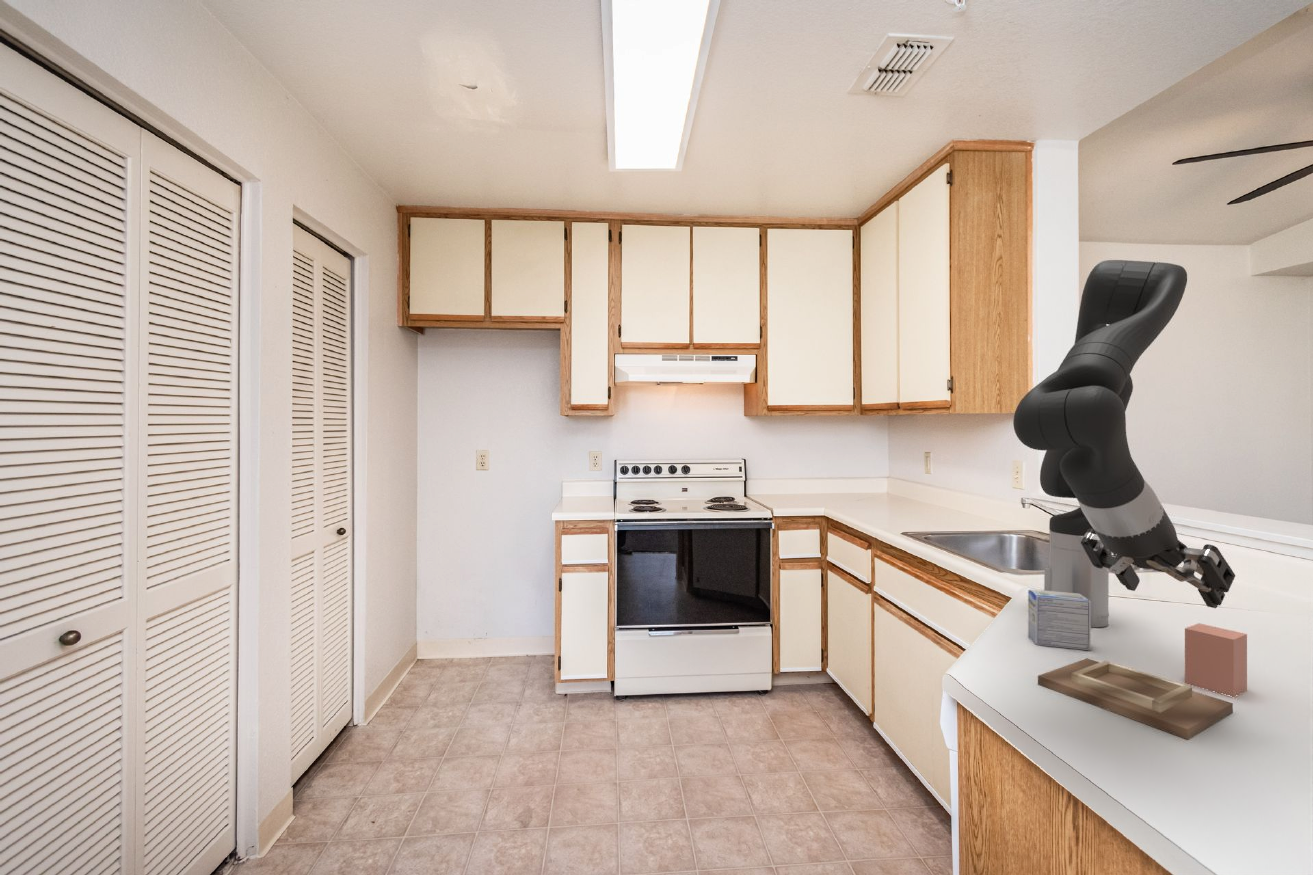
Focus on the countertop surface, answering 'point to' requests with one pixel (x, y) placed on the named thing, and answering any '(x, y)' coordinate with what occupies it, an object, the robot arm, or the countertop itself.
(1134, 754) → the countertop surface
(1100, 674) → the socket plate
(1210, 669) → the salmon pink rectangular block
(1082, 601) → the medicine box
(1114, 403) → the robot arm
